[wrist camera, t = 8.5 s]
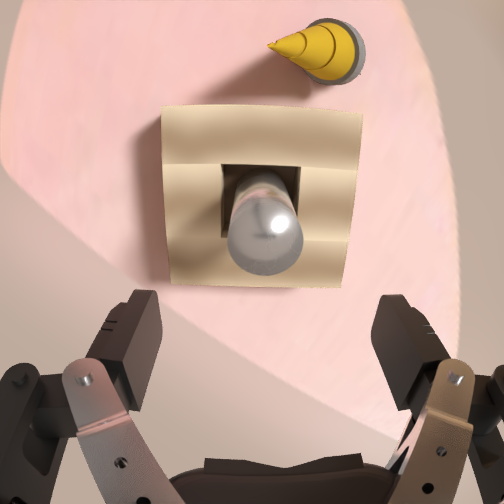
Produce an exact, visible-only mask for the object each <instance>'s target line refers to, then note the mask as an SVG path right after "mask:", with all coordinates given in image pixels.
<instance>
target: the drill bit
mask: <svg viewBox="0 0 504 504" xmlns="http://www.w3.org/2000/svg"><path fill="white" fill-rule="evenodd" d="M267 47H269V48H270V49H272V50H274V51H276V52H277V53H279V54H281V55H282V56H284V57H286V58H287V59H289V60H291V61H292V62H294V63H296V64H297V65H299V66H300V67H302V68H303V69H304V71H305V72H306V74H307V75H308V76H309V77H310V78H311V79H313V80H314V81H316V82H318V83H320V84H324V85H342V84H346V83H348V82H351V81H352V80H353V79H355V78H356V77H357V76H358V75H361V74H360V72H361V70H362V68H363V66H364V63H365V56H366V51H365V45H364V42H363V39H362V37H361V35H360V34H359V33H358V31H357V30H356V29H355V28H354V27H352V26H351V25H350V24H348V23H346V22H343V21H340V20H336V19H332V18H324V19H319V20H316V21H314V22H313V23H311V24H310V25H309V26H308V27H307V28H306V29H304V30H302V31H299V32H297V33H294V34H291V35H289V36H287V37H284V38H282V39H279V40H277V41H276V43H273V42H272V43H270V44H268V45H267Z"/></svg>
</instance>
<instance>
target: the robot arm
mask: <svg viewBox="0 0 504 504" xmlns="http://www.w3.org/2000/svg"><path fill="white" fill-rule="evenodd" d="M161 340H162V321H161V315H160V310H159V303H158V296H157V293H156V291H155V290H134V291H133V293H132V295H131V296H130V298H129V300H128V302H127V303H122V302H121V303H119V304H118V305H117V306H116V307H114V308H113V309H112V310H111V311H110V313H109V314H108V316H107V318H106V320H105V322H104V324H103V325H102V327H101V330H99V332H98V334H97V336H96V338H95V340H94V341H93V343H92V345H91V347H90V349H89V351H88V353H87V355H86V357H85V358H82V359H78V360H76V361H74V362H72V363H70V364H69V365H68V366H67V367H66V368H65V370H64V371H63V373H62V374H52V375H40V374H39V372H38V370H37V369H36V367H35V366H33V365H32V364H29V363H19V364H16V365H14V366H12V367H11V368H9V369H8V370H7V371H6V372H5V374H4V375H3V377H2V379H1V380H0V504H50V500H51V497H52V492H53V489H54V485H55V482H56V478H57V474H58V471H59V467H60V464H61V461H62V457H63V454H64V451H65V447H66V444H67V441H68V438H70V437H77V438H78V441H79V444H80V446H81V449H82V452H83V454H84V457H85V459H86V461H87V464H88V466H89V468H90V471H91V473H92V475H93V477H94V480H95V482H96V484H97V486H98V488H99V490H100V492H101V495H102V497H103V499H104V501H105V503H106V504H452V503H453V500H454V497H455V494H456V491H457V488H458V485H459V482H460V479H461V475H462V472H463V468H464V464H465V461H466V457H467V454H468V456H469V459H470V462H471V465H472V468H473V471H474V474H475V477H476V480H477V484H478V487H479V490H480V493H481V497H482V500H483V504H504V442H503V439H502V437H501V435H500V432H499V430H498V428H497V424H498V423H499V422H500V421H501V419H502V420H503V422H504V365H500V366H498V367H497V368H496V369H495V371H494V372H493V374H492V376H484V375H475V374H474V372H473V370H472V369H471V367H469V366H468V365H467V364H466V363H464V362H463V361H460V360H457V359H451V357H450V356H449V354H448V352H447V351H446V349H445V347H444V346H443V344H442V343H441V341H440V339H439V338H438V336H437V335H436V334H435V331H434V330H433V328H432V327H431V326H430V324H429V322H428V321H427V319H426V317H425V316H424V315H423V314H422V313H421V312H419V311H418V310H417V309H416V308H414V307H411V306H410V305H409V303H408V302H407V300H406V299H405V297H404V296H403V295H401V294H399V295H382V296H381V298H380V301H379V305H378V308H377V312H376V315H375V319H374V322H373V326H372V329H371V341H372V345H373V347H374V350H375V352H376V355H377V357H378V360H379V362H380V365H381V367H382V370H383V372H384V375H385V377H386V380H387V382H388V385H389V388H390V390H391V393H392V396H393V398H394V401H395V403H396V406H397V409H398V411H401V410H407V409H410V410H411V413H412V414H411V416H410V417H409V419H408V421H407V424H406V426H405V428H404V431H403V433H402V435H401V438H400V440H399V442H398V444H397V446H396V448H395V451H394V453H393V455H392V457H391V459H390V460H389V462H388V464H387V465H386V467H385V468H384V467H381V466H377V465H373V464H368V463H363V460H362V456H361V453H358V454H350V455H341V456H332V457H324V458H321V459H318V460H314V461H311V462H307V463H304V464H301V465H297V466H293V467H289V468H280V467H275V466H270V465H264V464H260V463H256V462H251V461H247V460H231V459H211V458H205V462H204V468H198V469H194V470H190V471H186V472H183V473H181V474H178V475H176V476H174V477H172V478H171V479H169V480H168V478H167V477H166V475H165V474H164V472H163V470H162V469H161V467H160V466H159V464H158V463H157V461H156V460H155V458H154V456H153V455H152V453H151V451H150V450H149V448H148V446H147V445H146V443H145V442H144V440H143V438H142V436H141V434H140V433H139V431H138V429H137V428H136V426H135V424H134V422H133V420H132V418H131V417H130V415H129V413H128V412H129V410H133V411H140V409H141V406H142V403H143V399H144V396H145V392H146V389H147V386H148V382H149V379H150V376H151V373H152V369H153V366H154V363H155V359H156V356H157V353H158V350H159V347H160V344H161Z"/></svg>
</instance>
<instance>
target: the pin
mask: <svg viewBox="0 0 504 504" xmlns="http://www.w3.org/2000/svg"><path fill="white" fill-rule="evenodd" d="M303 244H304V238H303V232H302V229H301V226H300V223H299V221H298V218H297V215H296V213H295V210H294V207H293V205H292V202H291V200H290V197H289V194H288V192H287V189H286V187H285V184H284V182H283V180H282V178H281V177H280V176H279V175H278V174H277V173H276V172H274V171H272V170H270V169H267V168H255V169H252V170H249V171H248V172H246V173H245V174H244V175H243V176H242V177H241V178H240V180H239V181H238V184H237V187H236V193H235V198H234V203H233V209H232V214H231V220H230V226H229V231H228V237H227V246H228V251H229V253H230V256H231V257H232V259H233V261H234V262H235V263H236V264H237V265H238V266H239V267H240V268H241V269H243V270H245V271H246V272H249V273H251V274H254V275H259V276H270V275H275V274H279V273H281V272H283V271H285V270H287V269H288V268H290V267H291V266H292V265H293V264H294V263H295V262H296V261H297V259H298V258H299V256H300V254H301V252H302V249H303Z"/></svg>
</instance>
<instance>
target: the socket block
mask: <svg viewBox="0 0 504 504" xmlns="http://www.w3.org/2000/svg"><path fill="white" fill-rule="evenodd" d="M362 122H363V114H359V113H351V112H343V111H335V110H325V109H315V108H303V107H289V106H271V105H236V104H212V105H178V106H161V143H162V172H163V193H164V210H165V224H166V237H167V249H168V260H169V270H170V280H171V284H185V285H211V286H243V287H289V288H341V282H342V277H343V271H344V266H345V260H346V254H347V248H348V242H349V235H350V229H351V222H352V215H353V207H354V200H355V192H356V184H357V175H358V166H359V156H360V146H361V135H362ZM255 168H267V169H270V170H272V171H274V172H276V173H277V174H278V175H279V176H280V177H281V178H282V180H283V182H284V184H285V187H286V189H287V192H288V194H289V197H290V200H291V202H292V205H293V207H294V210H295V213H296V215H297V218H298V221H299V223H300V226H301V229H302V232H303V238H304V244H303V249H302V252H301V254H300V256H299V258H298V259H297V261H296V262H295V263H294V264H293V265H292V266H291V267H290V268H288V269H287V270H285V271H283V272H281V273H279V274H275V275H270V276H259V275H254V274H251V273H249V272H246V271H245V270H243V269H241V268H240V267H239V266H238V265H237V264H236V263H235V262H234V261H233V259H232V257H231V256H230V253H229V251H228V246H227V237H228V231H229V226H230V220H231V214H232V209H233V203H234V198H235V193H236V187H237V184H238V181H239V180H240V178H241V177H242V176H243V175H244V174H245V173H246V172H248V171H249V170H252V169H255Z"/></svg>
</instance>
